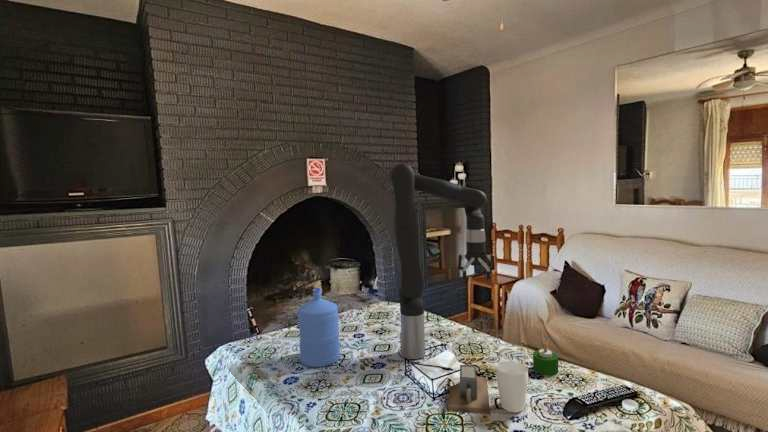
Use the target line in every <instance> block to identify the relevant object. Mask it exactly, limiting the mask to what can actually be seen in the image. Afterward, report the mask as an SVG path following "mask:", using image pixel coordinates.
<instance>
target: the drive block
mask: <svg viewBox="0 0 768 432" xmlns="http://www.w3.org/2000/svg"><path fill="white" fill-rule="evenodd" d="M476 367H477V366H476V365H471V364H460V365H459V375H460V398H462V399H467V388H470V389H471V399H476V400H477V377H478V376H477V368H476Z"/></svg>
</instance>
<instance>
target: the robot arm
mask: <svg viewBox="0 0 768 432" xmlns="http://www.w3.org/2000/svg"><path fill="white" fill-rule="evenodd" d="M386 175H387V177H386V178H387V181H388V183H389V184H390V186H392V187H393V193H394V200H395V201H394V202H395V203H394V204H395V206H394V217H393V229H394V230H393V231H394V239H395V246H396V249H397V250H396V251H397V253H398V257H399V262H400V273H401V275H400V278H399V280H398V292H399V295H398V296H399V309H400V310H399V312H400V337H399V340H400V341H399V342H400V358H402V359H406V358H407V359H406V360H409V359H418V360H420V359H419V358H421V359H424V357H425V356H426V338H425V336H426V335H425V334H426V333H425V330H426V329H425V306H424V299H423V292H424V290H425V281H424V278H423V277H424V276H423V272H422V268H421V267H422V266H421V260H420V259H421V258H420V257H421V256H420V251H421V250H420V233H419V232H420V231H419V223H418V215H417V214H418V213H417V208H416V203H415V191H418V192H422V193H425V194H428V195H431V196H434V197H436V198H441V199H443V200H447V201H450V202H454V203H460V204H463V207H464V213H465V216H466V217H465V218H466V232H465V247H466V248H465V250H466V251H465V252H466V253H465V254H461V253H459V254H458V263H457V265H458V266H457V268H458V270H459V271H462V279H463V280H464V281H467V269H468V268H469V267H470V266H473V267H475V266H479V267H481V266H483V268H484V269H485V270H486V271H485V278H486V282H489V280H490V279H491V271H495V269H496V268H495V267H496V266H495V256H494V254H492V253H491V254H487V253H486V249H487V248H486V246H487V245H486V238H487V237H486V231H485V229H486V228H485V226H486V225H485V217H484V216H485V215H483V214H482V212H481V208H483V207H484V206H485V205H486V204H487V202H488V198H487V195H486V193H485V192H483V191H482V190H480V189H475V188H471V187H466V186H463V185H460V184H458V183H456V182H455V183H454V182H451V181H448V180H445V179H440V178H435V177H431V176H430V177H429V176H426V175H422V174H419V173H417V172H414V170H413V168H412V167H411V166H410V165H409V164H406V163H397V164H395V165H393V166H392V167H391V168H389V170H388V171H387V174H386ZM464 259H465V260H466V263H465V264H464V265H463V266H462V261H464ZM487 259H488V260H489V261H490V266H488V264H487V263H486V260H487Z"/></svg>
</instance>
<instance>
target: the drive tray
mask: <svg viewBox="0 0 768 432" xmlns="http://www.w3.org/2000/svg"><path fill="white" fill-rule="evenodd" d="M476 377H477V400H476V399H471V389H470V388H467V399H462V398H460V383H459V384H457V385H453V386H450V385H449V391H448V406H447V407H448V409H447V410H449V411H458V412H459V411H462V412H472V413H473V412H474V413H484V414H490V413H491V408H490V407H491V406H490V405H491V404H490V399H489V390H488V380H487V377H486V376H476Z"/></svg>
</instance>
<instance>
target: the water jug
mask: <svg viewBox="0 0 768 432" xmlns="http://www.w3.org/2000/svg"><path fill="white" fill-rule="evenodd" d="M312 297H313V298H312V300H310V301H308V302H306V303H304V304H302V305H300V306H299V308H297V321H298V329H299V339H300V340H299V361H300V363H301V364H302V365H303V366H307V367H310V368H323V367H327V366H330V365H333V364H334V363H336V362H337V361H338V360H339V359H340V357H341V350H340V330H339V308H338V305H337V304H336V303H335V302H332V301H329V300H326V299H323V298H322V288H318V287H317V288H313V289H312Z"/></svg>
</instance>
